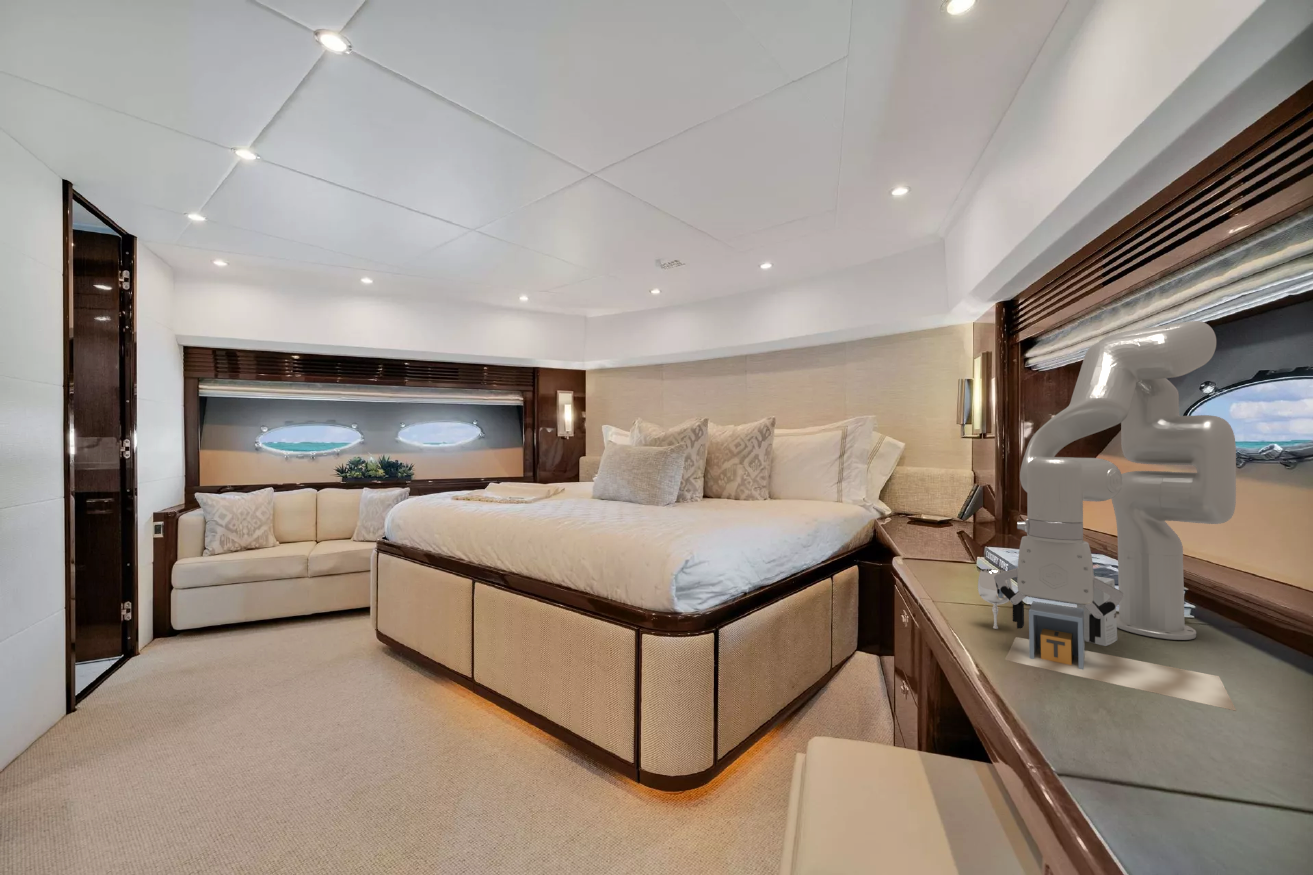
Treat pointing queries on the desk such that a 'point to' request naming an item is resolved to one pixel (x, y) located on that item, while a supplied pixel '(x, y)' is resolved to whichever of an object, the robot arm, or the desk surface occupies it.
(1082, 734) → the desk surface
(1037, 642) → the grey open-front cubby
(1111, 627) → the skincare box
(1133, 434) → the robot arm
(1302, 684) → the desk surface
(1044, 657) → the letter cube
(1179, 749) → the desk surface
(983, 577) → the wineglass
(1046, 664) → the board
